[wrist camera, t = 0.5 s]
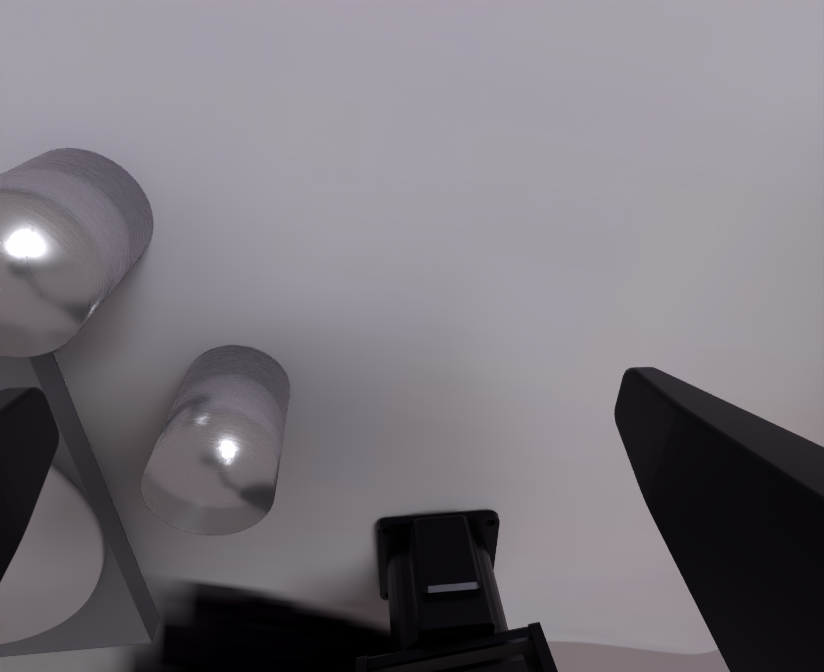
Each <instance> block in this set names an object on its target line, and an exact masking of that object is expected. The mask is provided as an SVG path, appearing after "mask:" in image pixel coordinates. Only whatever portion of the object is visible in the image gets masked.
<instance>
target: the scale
mask: <svg viewBox="0 0 824 672" xmlns="http://www.w3.org/2000/svg"><path fill="white" fill-rule="evenodd" d="M30 386H35V387H38V388H40V389H42V390H43V392H44V393H45V395H46V397H47V400H48V402H49V405H50V408H51V410H52V413H53V416H54V418H55V421H56V424H57V426H58V430H59V435H60V436H59V445H58V448H57V451H56V454H55V456H54V459H53V461H52V464H51V467H50V469H49V472H48V475H47V477H46V480H45V483H44V485H43V488H42V490H41V493H40V496H39V498H38V501H37V504H36V506H35V509H34V511H33V514H32V517H31V519H30V522H29V524H28V527H27V529H26V531H25V534H24V536H23V538H22V540H21V542H20V545H19V547H18V549H17V551H16V553H15V555H14V557H13V559H12V561H11V563H10V565H9V567H8V569H7V570H6V572H5V574H4V576H3V578H2V580H1V582H0V657H5V656H16V655H26V654H37V653H48V652H59V651H70V650H81V649H92V648H103V647H113V646H124V645H135V644H146V643H152V640H153V637H154V634H155V631H156V628H157V624H158V621H159V617H158V615H157V612H156V610H155V607H154V605H153V602H152V600H151V597H150V595H149V592H148V590H147V587H146V585H145V582H144V580H143V577H142V575H141V572H140V570H139V567H138V565H137V562H136V560H135V557H134V555H133V552H132V550H131V547H130V545H129V542H128V540H127V537H126V535H125V532H124V530H123V527H122V525H121V522H120V520H119V518H118V515H117V513H116V510H115V508H114V505H113V503H112V500H111V498H110V495H109V493H108V490H107V488H106V485H105V483H104V480H103V478H102V475H101V473H100V470H99V468H98V465H97V463H96V460H95V458H94V455H93V453H92V450H91V448H90V445H89V443H88V440H87V438H86V435H85V433H84V430H83V428H82V425H81V423H80V420H79V418H78V415H77V413H76V410H75V408H74V405H73V403H72V400H71V398H70V396H69V393H68V391H67V388H66V386H65V383H64V381H63V378H62V376H61V373H60V371H59V368H58V366H57V363H56V361H55V358H54V356H53V353H52V351H51V352H48V353H46V354H41V355H37V356H29V357H9V356H1V355H0V391H1V390H3V389H5V388H9V387H30Z"/></svg>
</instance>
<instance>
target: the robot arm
mask: <svg viewBox="0 0 824 672" xmlns="http://www.w3.org/2000/svg"><path fill="white" fill-rule="evenodd" d="M614 415H615V422H616V425H617V428H618V431H619V433H620V436H621V439H622V441H623V444H624V447H625V449H626V452H627V455H628V458H629V460H630V463H631V466H632V468H633V471H634V474H635V477H636V479H637V482H638V485H639V487H640V490H641V492H642V495H643V497H644V500H645V502H646V504H647V506H648V509H649V511H650V513H651V515H652V517H653V519H654V521H655V523H656V525H657V527H658V529H659V531H660V533H661V535H662V537H663V539H664V541H665V543H666V545H667V547H668V549H669V551H670V553H671V555H672V557H673V559H674V561H675V563H676V565H677V567H678V569H679V571H680V573H681V575H682V577H683V579H684V581H685V583H686V585H687V587H688V589H689V591H690V593H691V595H692V597H693V599H694V601H695V603H696V605H697V607H698V609H699V611H700V613H701V615H702V617H703V619H704V621H705V623H706V625H707V627H708V629H709V631H710V633H711V635H712V637H713V639H714V641H715V643H716V645H717V647H718V649H719V650H720V652H721V654H722V656H723V658H724V660H725V662H726V664H727V666H728V668H729V670H730V672H824V447H822V446H820V445H818V444H816V443H814V442H811V441H809V440H807V439H805V438H803V437H801V436H799V435H797V434H794V433H792V432H790V431H788V430H786V429H784V428H782V427H780V426H777V425H775V424H773V423H771V422H769V421H767V420H765V419H763V418H760V417H758V416H756V415H754V414H752V413H750V412H748V411H746V410H743V409H741V408H739V407H737V406H735V405H733V404H731V403H729V402H726V401H724V400H722V399H720V398H718V397H716V396H714V395H712V394H709V393H707V392H705V391H703V390H701V389H699V388H697V387H695V386H692V385H690V384H688V383H686V382H684V381H682V380H680V379H678V378H675V377H673V376H671V375H669V374H667V373H665V372H663V371H661V370H658V369H656V368H654V367H633V368H629V369H628V370H626V371H625V373H624V375H623V378H622V382H621V386H620V390H619V394H618V398H617V402H616V405H615V412H614ZM59 436H60V435H59V430H58V426H57V424H56V421H55V418H54V416H53V413H52V410H51V408H50V405H49V402H48V400H47V397H46V395H45V393H44V392H43V390H42V389H40V388H38V387H35V386H30V387H9V388H5V389H3V390H1V391H0V582H1V580H2V578H3V576H4V574H5V572H6V570H7V569H8V567H9V565H10V563H11V561H12V559H13V557H14V555H15V553H16V551H17V549H18V547H19V545H20V542H21V540H22V538H23V536H24V534H25V531H26V529H27V527H28V524H29V522H30V519H31V517H32V514H33V511H34V509H35V506H36V504H37V501H38V498H39V496H40V493H41V490H42V488H43V485H44V483H45V480H46V477H47V475H48V472H49V469H50V467H51V464H52V461H53V459H54V456H55V454H56V451H57V448H58V445H59ZM498 530H499V518H498V514H497V513H496V512H494V511H477V512H464V513H451V514H438V515H425V516H412V517H398V518H386V519H382V520H380V521H379V522H378V524H377V532H378V555H379V578H380V596H381V598H382V599H384V600H389V614H390V629H391V644H392V653H390V654H384V655H379V656H374V657H369V656H363V657H358V658H357V659H356V669H355V672H558V671H557V669H556V666H555V663H554V660H553V657H552V655H551V652H550V649H549V647H548V644H547V641H546V638H545V636H544V633H543V630H542V628H541V625H540V622H536V623H531V624H528V626H527V627H522V628H517V629H512V630H508V627H507V623H506V619H505V615H504V611H503V607H502V603H501V599H500V595H499V591H498V587H497V583H496V579H495V576H494V572H493V569H494V562H495V554H496V546H497V538H498Z"/></svg>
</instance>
